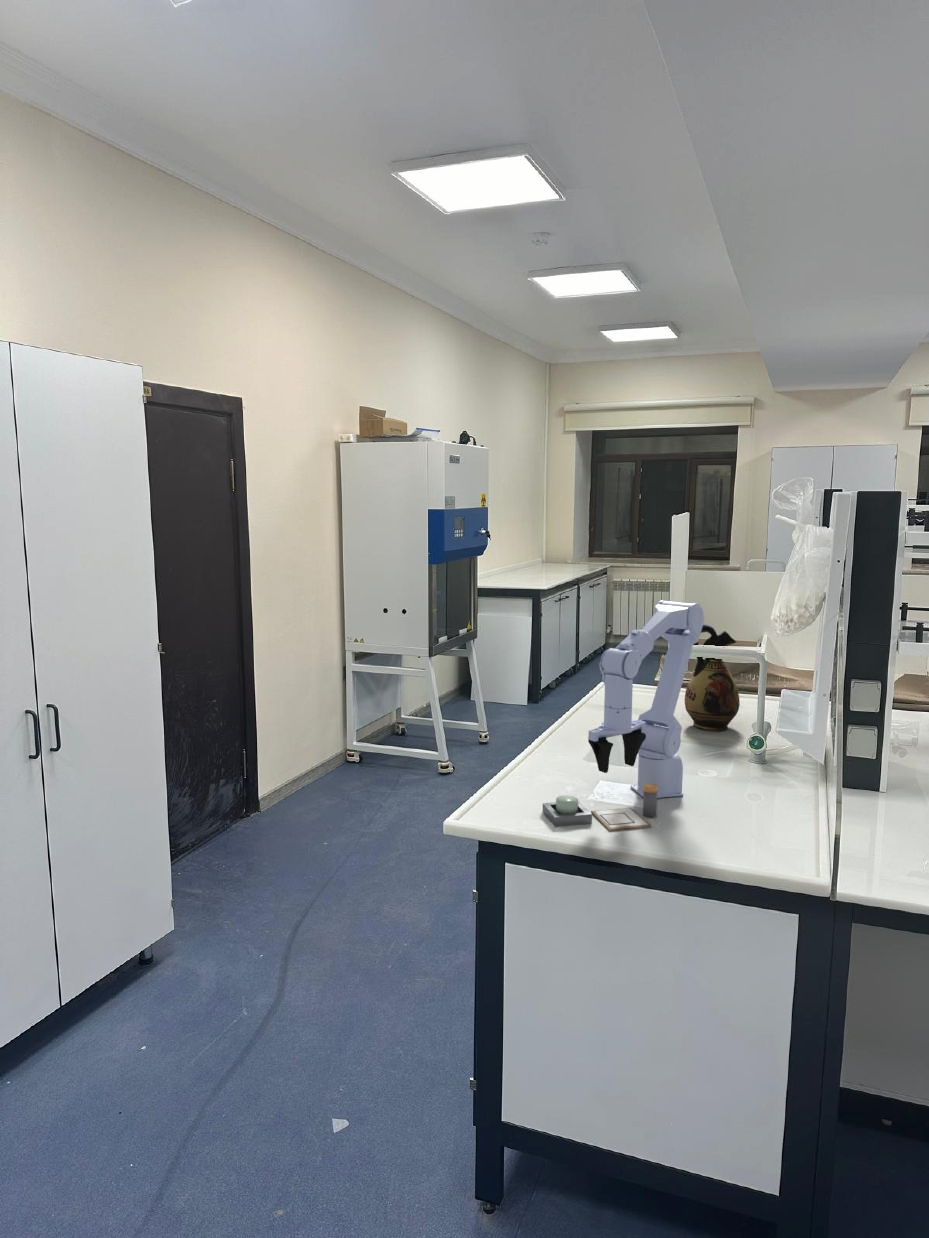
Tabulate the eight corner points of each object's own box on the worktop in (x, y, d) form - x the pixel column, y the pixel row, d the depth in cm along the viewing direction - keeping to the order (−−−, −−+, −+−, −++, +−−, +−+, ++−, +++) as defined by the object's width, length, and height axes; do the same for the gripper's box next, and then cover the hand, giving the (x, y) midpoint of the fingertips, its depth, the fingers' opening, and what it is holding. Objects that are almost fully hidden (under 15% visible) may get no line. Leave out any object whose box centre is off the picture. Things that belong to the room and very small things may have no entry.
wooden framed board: (630, 809, 175) (630, 806, 175) (651, 827, 165) (651, 824, 165) (591, 812, 173) (591, 810, 173) (609, 831, 163) (609, 828, 163)
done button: (573, 806, 173) (573, 794, 172) (581, 814, 168) (581, 802, 168) (552, 808, 172) (553, 796, 171) (560, 816, 167) (560, 804, 167)
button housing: (578, 809, 175) (578, 800, 175) (591, 823, 167) (592, 814, 167) (542, 812, 173) (542, 803, 173) (554, 826, 165) (555, 817, 165)
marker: (652, 812, 173) (653, 782, 173) (659, 817, 171) (660, 787, 170) (639, 813, 173) (640, 783, 172) (645, 818, 170) (647, 788, 169)
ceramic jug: (736, 721, 245) (741, 623, 240) (740, 735, 230) (745, 631, 226) (677, 717, 249) (681, 620, 245) (678, 731, 234) (682, 628, 230)
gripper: (629, 697, 178) (627, 757, 180) (579, 706, 170) (577, 769, 172) (653, 703, 172) (651, 765, 174) (602, 713, 164) (600, 778, 166)
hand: (616, 768), depth 173 cm, fingers open, 7 cm apart
